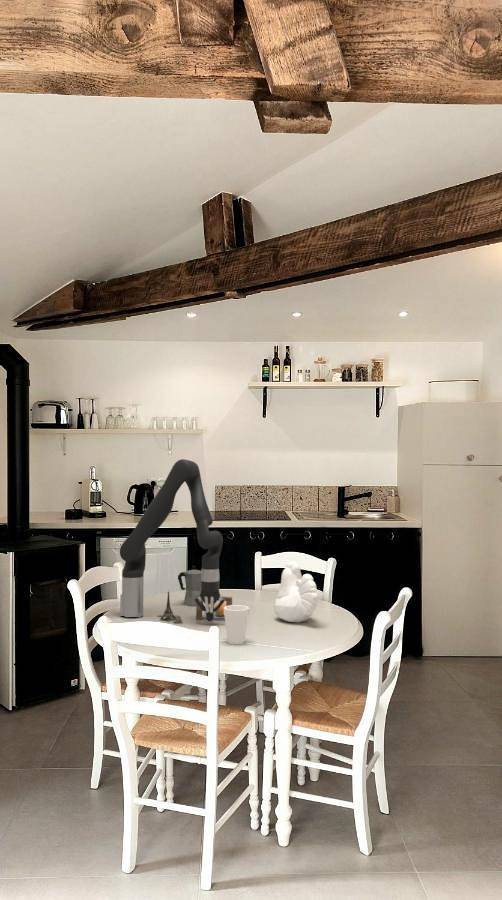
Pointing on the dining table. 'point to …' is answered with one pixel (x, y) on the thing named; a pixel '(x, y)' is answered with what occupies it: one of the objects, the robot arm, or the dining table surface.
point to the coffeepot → (191, 585)
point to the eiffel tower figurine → (170, 614)
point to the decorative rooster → (295, 595)
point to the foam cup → (236, 623)
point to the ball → (220, 609)
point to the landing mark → (215, 616)
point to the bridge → (227, 599)
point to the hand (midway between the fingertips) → (209, 621)
